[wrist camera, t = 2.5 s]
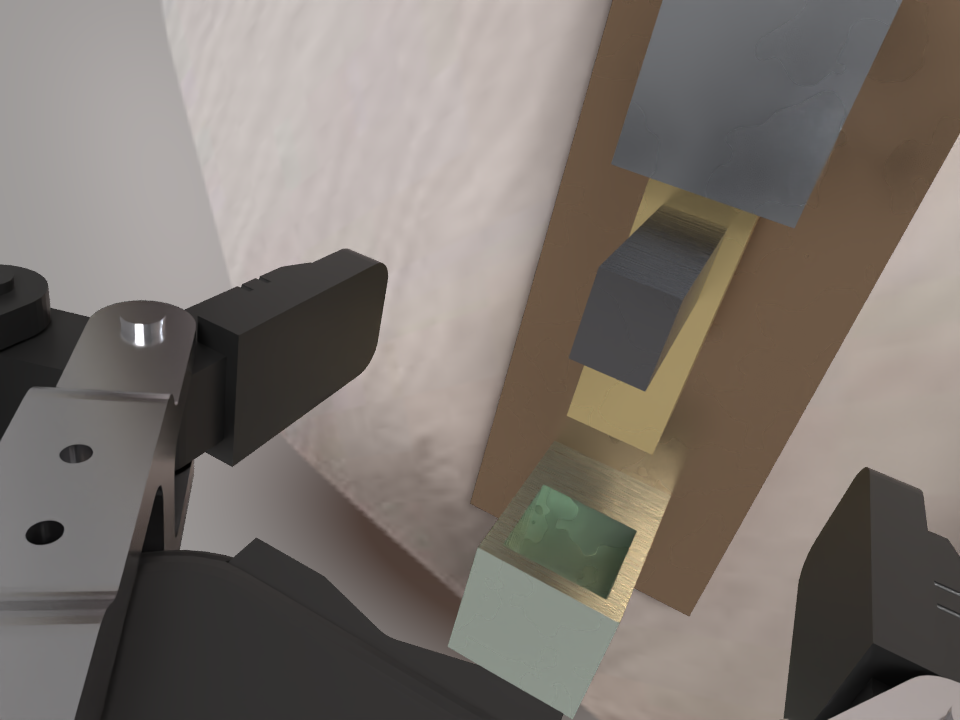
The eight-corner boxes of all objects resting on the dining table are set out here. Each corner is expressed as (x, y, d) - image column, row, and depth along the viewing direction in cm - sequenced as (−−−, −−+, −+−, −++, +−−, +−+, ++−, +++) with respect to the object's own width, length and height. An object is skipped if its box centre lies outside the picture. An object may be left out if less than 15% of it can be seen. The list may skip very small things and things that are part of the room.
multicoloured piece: (755, -442, 17) (681, -724, 11) (1241, -394, 15) (1560, -734, 8) (484, 484, 33) (385, 610, 26) (696, 591, 30) (646, 762, 24)
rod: (900, -472, 13) (928, -888, 7) (1059, -460, 12) (1243, -911, 6) (594, 377, 23) (493, 515, 17) (673, 411, 22) (597, 568, 16)
